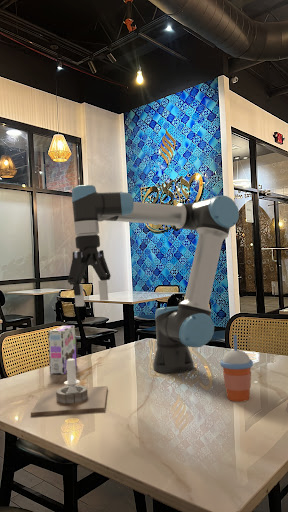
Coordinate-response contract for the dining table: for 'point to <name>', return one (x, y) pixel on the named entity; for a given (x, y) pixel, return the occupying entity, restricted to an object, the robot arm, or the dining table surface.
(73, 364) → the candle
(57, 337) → the candy box
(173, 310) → the robot arm
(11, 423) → the dining table surface
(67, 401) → the flange board
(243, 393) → the cup with straw
